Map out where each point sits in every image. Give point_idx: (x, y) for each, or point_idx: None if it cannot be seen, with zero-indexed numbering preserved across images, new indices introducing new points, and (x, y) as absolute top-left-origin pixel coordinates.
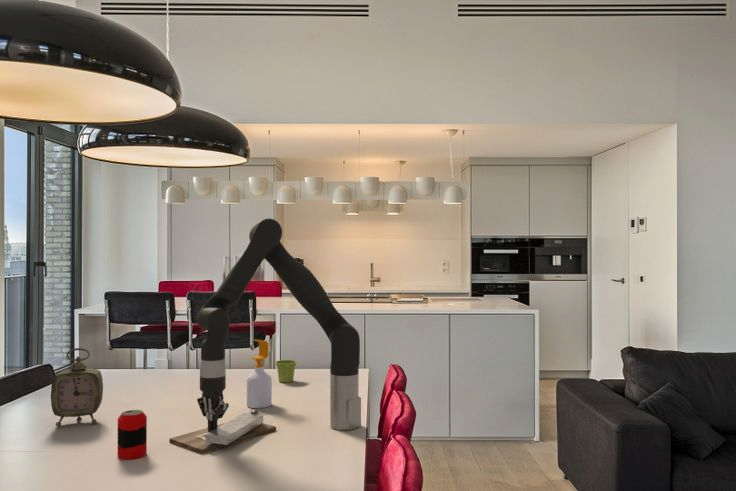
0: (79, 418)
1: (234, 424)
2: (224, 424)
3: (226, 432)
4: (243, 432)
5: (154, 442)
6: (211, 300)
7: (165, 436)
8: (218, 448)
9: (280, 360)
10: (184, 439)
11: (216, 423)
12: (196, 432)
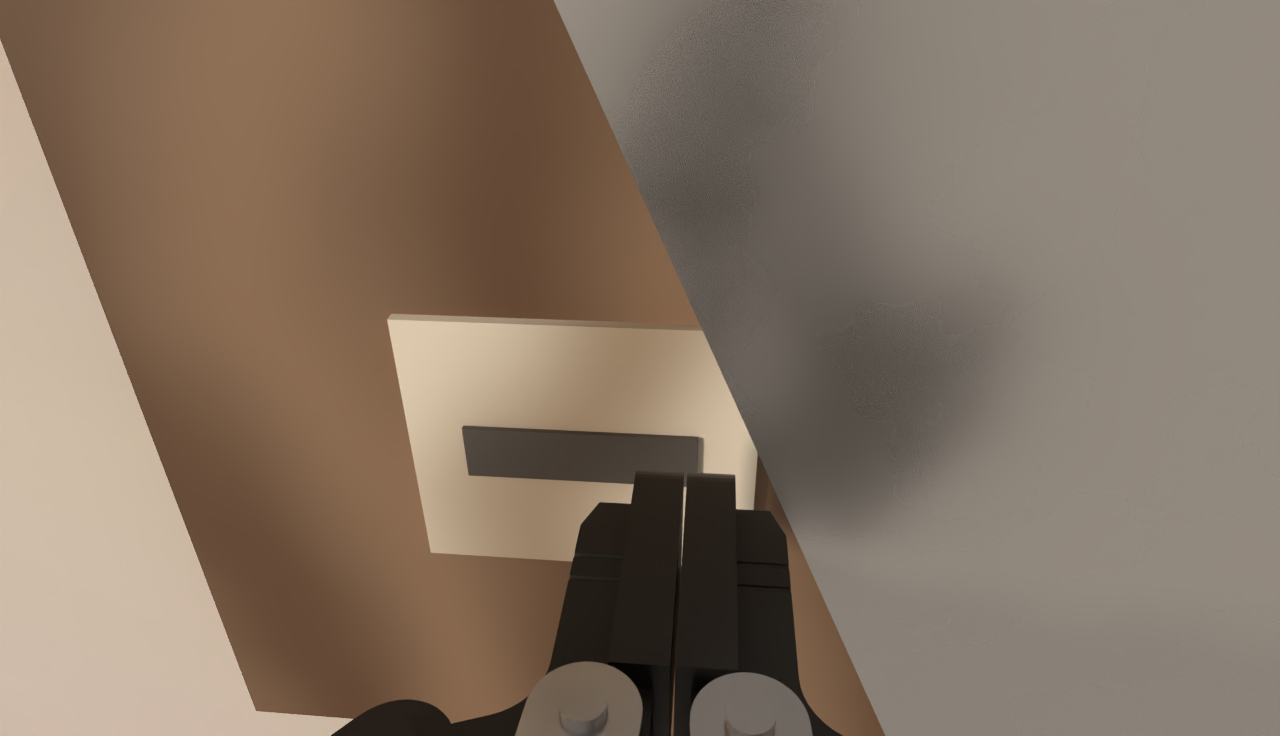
0: None
1: (1012, 200)
2: (759, 359)
3: (1262, 675)
4: None
5: (175, 727)
6: None
7: (4, 574)
8: None
9: None
10: (425, 657)
11: (795, 652)
12: (208, 404)
